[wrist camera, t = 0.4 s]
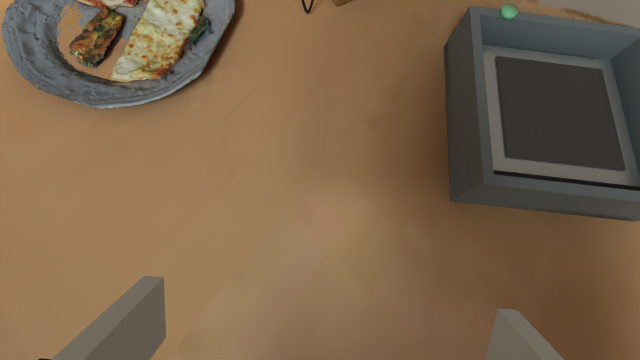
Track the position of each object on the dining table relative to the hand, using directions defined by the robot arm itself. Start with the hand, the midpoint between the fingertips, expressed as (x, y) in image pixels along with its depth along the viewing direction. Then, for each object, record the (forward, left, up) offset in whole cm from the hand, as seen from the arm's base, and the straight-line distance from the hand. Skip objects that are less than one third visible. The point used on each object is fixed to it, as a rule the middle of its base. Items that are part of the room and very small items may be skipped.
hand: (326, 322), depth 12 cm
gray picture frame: (+21, -23, -14) cm, 34 cm away
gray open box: (+21, -23, -17) cm, 35 cm away
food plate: (+29, +25, -17) cm, 41 cm away
